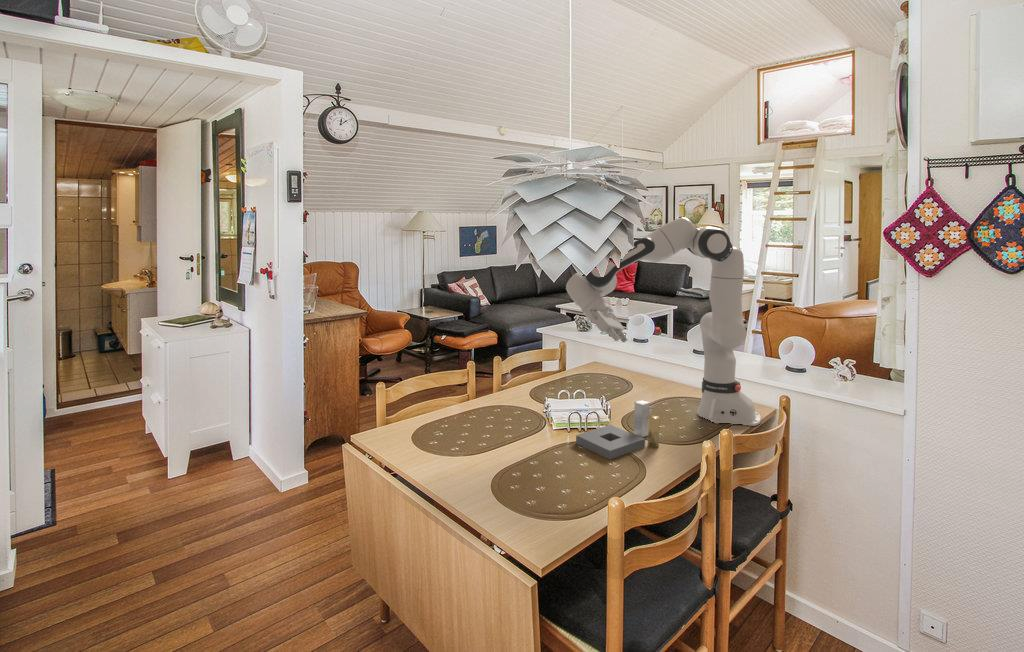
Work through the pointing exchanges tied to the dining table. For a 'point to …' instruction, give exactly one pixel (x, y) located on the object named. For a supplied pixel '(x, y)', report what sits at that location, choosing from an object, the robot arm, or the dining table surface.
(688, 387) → the dining table surface
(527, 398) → the dining table surface
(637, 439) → the bore block
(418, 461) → the dining table surface
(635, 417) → the square bit
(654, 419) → the round bit
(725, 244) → the robot arm
